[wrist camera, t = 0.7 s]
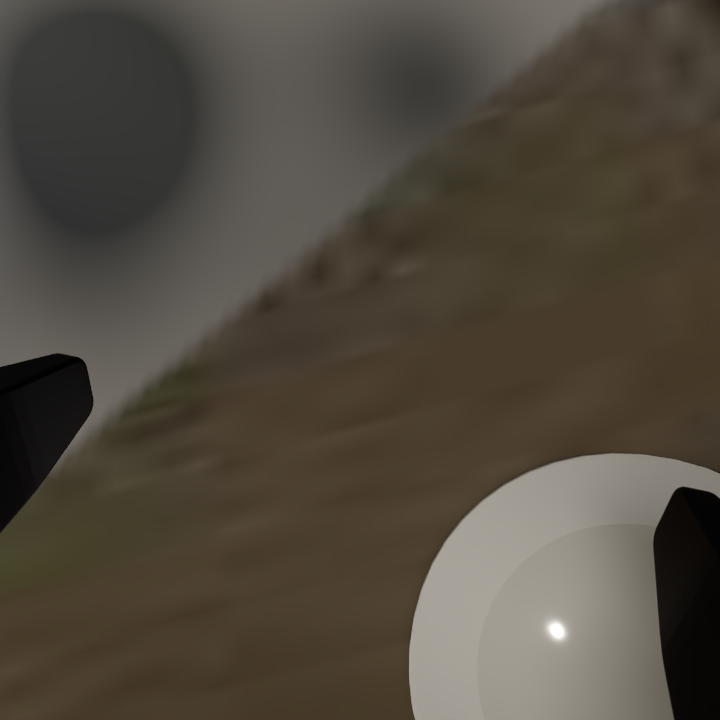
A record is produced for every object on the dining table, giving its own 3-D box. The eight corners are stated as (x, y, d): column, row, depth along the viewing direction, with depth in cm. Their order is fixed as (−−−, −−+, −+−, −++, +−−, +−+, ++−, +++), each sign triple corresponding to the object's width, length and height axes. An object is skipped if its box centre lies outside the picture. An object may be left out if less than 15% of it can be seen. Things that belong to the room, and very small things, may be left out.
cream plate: (981, 771, 19) (1016, 793, 17) (570, 993, 20) (577, 1027, 19) (679, 372, 21) (692, 370, 20) (335, 587, 23) (329, 596, 22)
